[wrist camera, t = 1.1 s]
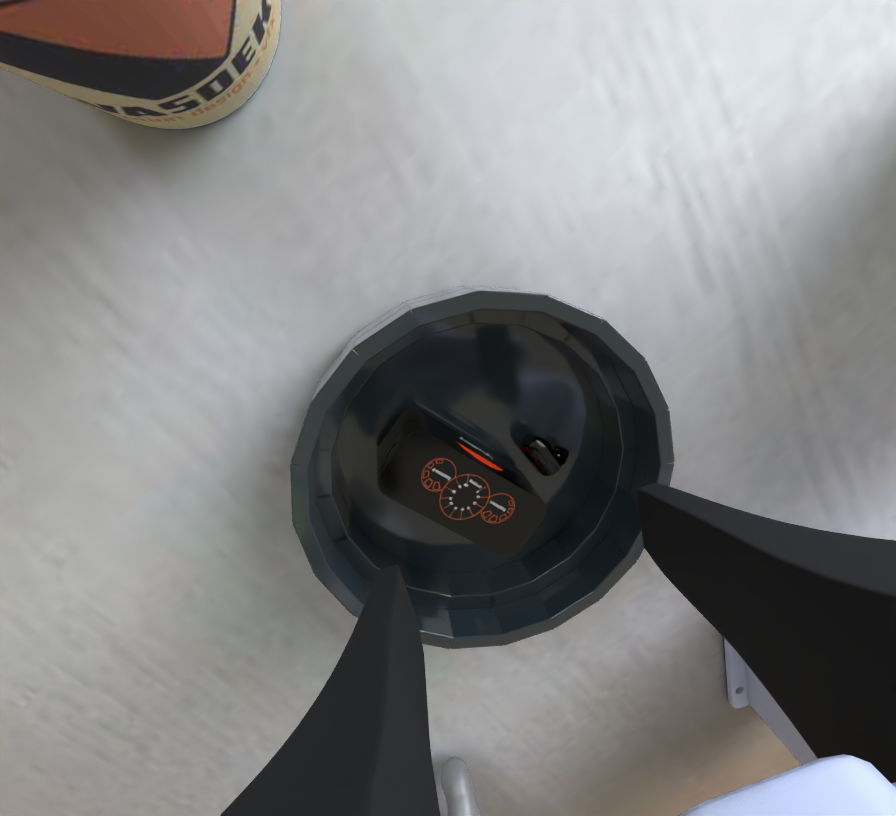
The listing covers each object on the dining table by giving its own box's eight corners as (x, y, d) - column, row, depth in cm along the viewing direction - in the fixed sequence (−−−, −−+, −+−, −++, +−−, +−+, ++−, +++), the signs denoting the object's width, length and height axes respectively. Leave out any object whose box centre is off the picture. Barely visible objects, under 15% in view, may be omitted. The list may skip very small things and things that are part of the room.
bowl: (640, 538, 23) (687, 585, 20) (365, 627, 22) (364, 692, 19) (602, 245, 18) (653, 241, 15) (251, 342, 17) (223, 361, 14)
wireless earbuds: (503, 526, 21) (526, 570, 18) (370, 452, 19) (369, 488, 16) (564, 445, 21) (598, 477, 17) (432, 359, 18) (444, 378, 15)
